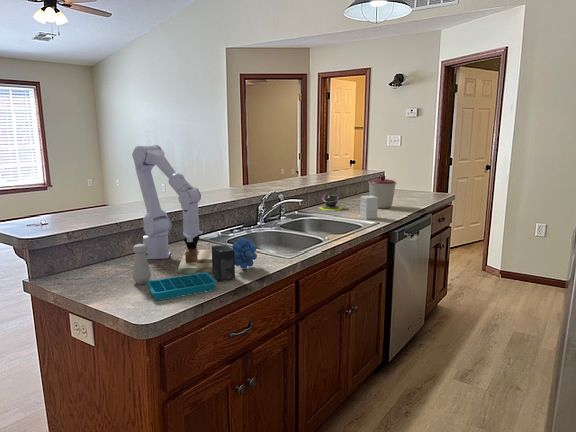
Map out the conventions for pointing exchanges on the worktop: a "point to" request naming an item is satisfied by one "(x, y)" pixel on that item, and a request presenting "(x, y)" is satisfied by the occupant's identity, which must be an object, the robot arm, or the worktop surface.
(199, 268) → the board
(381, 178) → the canister
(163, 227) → the robot arm
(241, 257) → the grapes
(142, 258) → the salt shaker
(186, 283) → the ice cube tray
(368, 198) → the supplement box
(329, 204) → the toy cauldron
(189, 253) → the walnut block
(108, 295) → the worktop surface
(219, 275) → the box
